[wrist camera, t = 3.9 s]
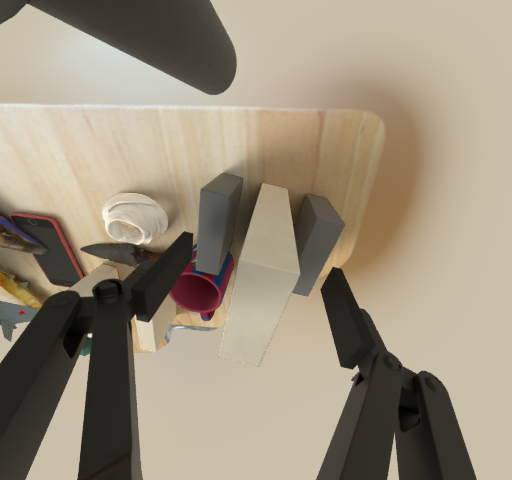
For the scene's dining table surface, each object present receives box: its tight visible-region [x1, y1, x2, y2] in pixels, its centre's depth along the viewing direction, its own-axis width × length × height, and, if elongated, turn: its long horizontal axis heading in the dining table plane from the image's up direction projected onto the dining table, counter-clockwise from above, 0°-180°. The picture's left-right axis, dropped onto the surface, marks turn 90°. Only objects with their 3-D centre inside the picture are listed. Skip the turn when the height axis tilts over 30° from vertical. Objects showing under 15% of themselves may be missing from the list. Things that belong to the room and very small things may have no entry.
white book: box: [219, 183, 300, 367], centre depth 18 cm, size 3×9×15 cm, turn 168°
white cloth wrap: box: [102, 193, 168, 245], centre depth 24 cm, size 8×7×5 cm
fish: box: [0, 272, 43, 309], centre depth 35 cm, size 12×2×5 cm
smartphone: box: [10, 213, 84, 288], centre depth 30 cm, size 7×1×14 cm
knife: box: [80, 243, 162, 267], centre depth 28 cm, size 17×2×5 cm
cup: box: [169, 244, 234, 321], centre depth 26 cm, size 7×10×7 cm
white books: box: [68, 264, 177, 352], centre depth 30 cm, size 12×9×7 cm
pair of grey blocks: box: [196, 173, 345, 296], centre depth 21 cm, size 12×9×7 cm
